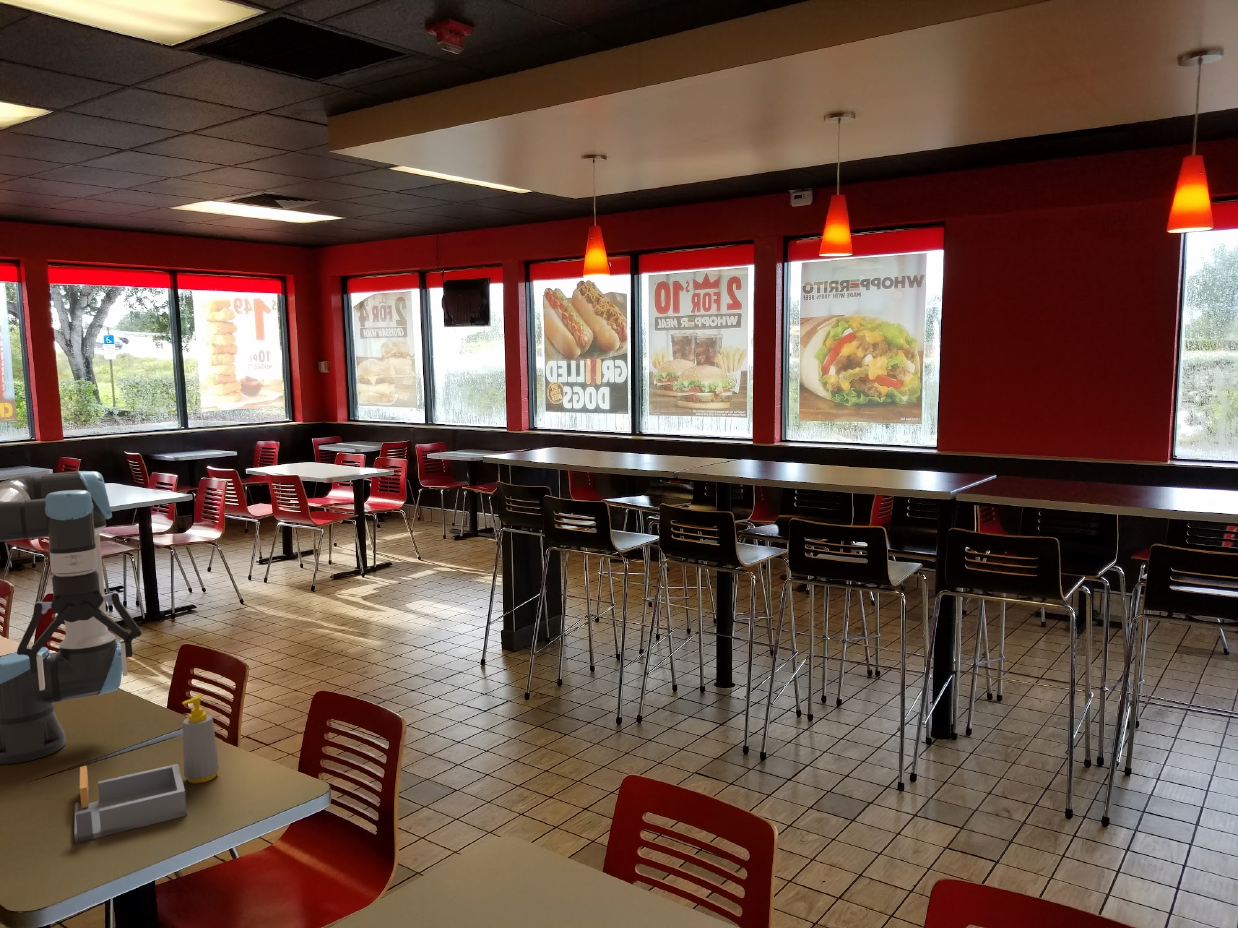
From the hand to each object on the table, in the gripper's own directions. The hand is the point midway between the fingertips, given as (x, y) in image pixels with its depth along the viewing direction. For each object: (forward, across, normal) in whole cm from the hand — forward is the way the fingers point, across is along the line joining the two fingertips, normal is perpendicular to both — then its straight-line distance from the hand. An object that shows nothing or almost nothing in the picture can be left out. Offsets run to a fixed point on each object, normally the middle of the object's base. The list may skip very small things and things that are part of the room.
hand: (84, 681), depth 169 cm
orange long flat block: (+27, -2, +11) cm, 29 cm away
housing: (+28, +6, 0) cm, 29 cm away
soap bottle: (+28, +20, +9) cm, 36 cm away
